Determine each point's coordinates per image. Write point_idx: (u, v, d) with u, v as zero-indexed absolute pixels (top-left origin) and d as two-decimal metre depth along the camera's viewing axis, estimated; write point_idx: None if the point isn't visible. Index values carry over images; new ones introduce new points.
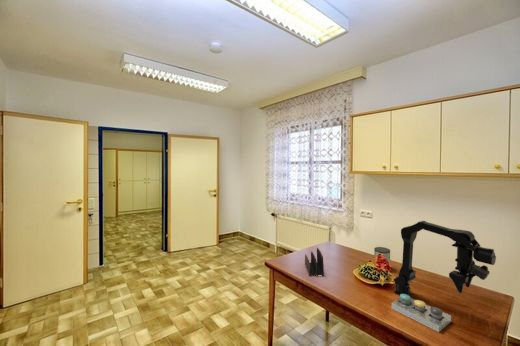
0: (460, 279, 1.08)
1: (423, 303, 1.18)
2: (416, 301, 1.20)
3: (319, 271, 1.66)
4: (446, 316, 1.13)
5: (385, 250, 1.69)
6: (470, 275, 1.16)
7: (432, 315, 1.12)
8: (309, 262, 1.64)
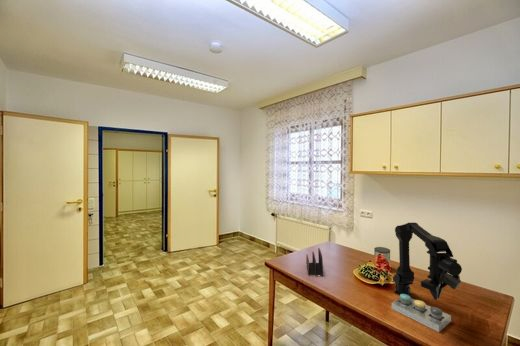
0: (431, 288, 1.06)
1: (423, 303, 1.18)
2: (416, 301, 1.20)
3: (319, 271, 1.65)
4: (446, 316, 1.13)
5: (385, 250, 1.69)
6: (440, 285, 1.12)
7: (432, 315, 1.12)
8: (308, 262, 1.64)
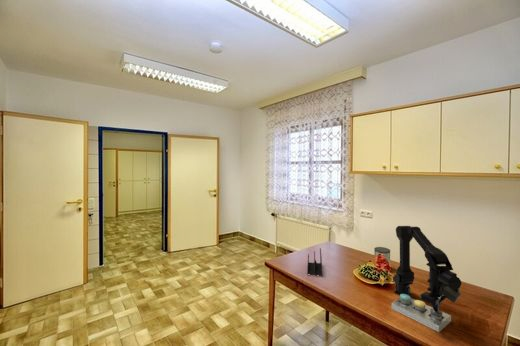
0: (430, 301, 1.06)
1: (423, 303, 1.18)
2: (416, 301, 1.20)
3: (319, 271, 1.65)
4: (446, 316, 1.13)
5: (385, 250, 1.69)
6: None
7: (432, 316, 1.12)
8: (308, 261, 1.65)
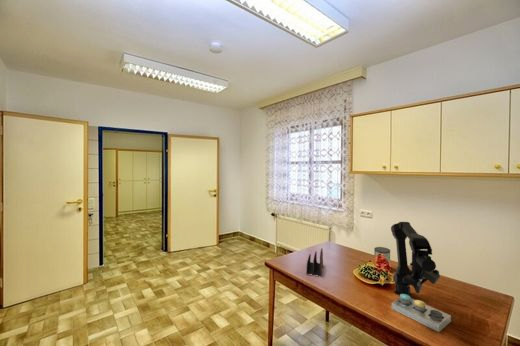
0: (412, 283, 1.13)
1: (423, 303, 1.18)
2: (416, 301, 1.20)
3: (318, 271, 1.65)
4: (446, 316, 1.13)
5: (385, 250, 1.69)
6: None
7: None
8: (307, 261, 1.65)
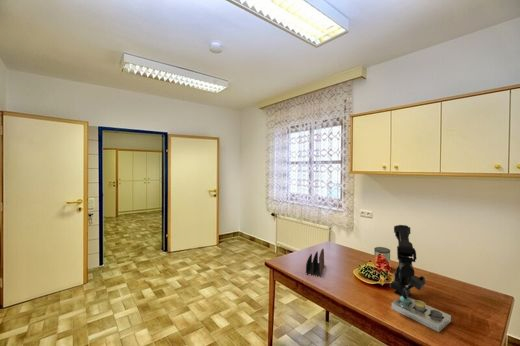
0: (398, 289, 1.18)
1: (423, 303, 1.18)
2: (416, 301, 1.20)
3: (318, 271, 1.65)
4: (446, 316, 1.13)
5: (385, 250, 1.69)
6: None
7: None
8: (307, 261, 1.66)
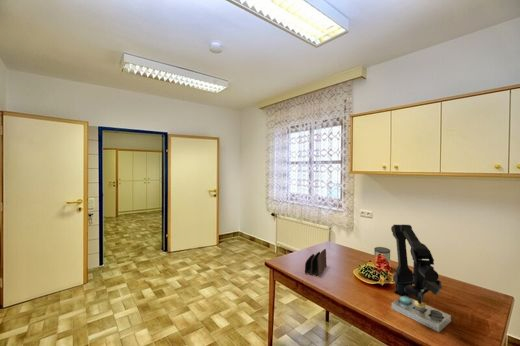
0: (413, 294, 1.12)
1: (423, 304, 1.18)
2: (416, 302, 1.20)
3: (318, 271, 1.65)
4: (446, 316, 1.13)
5: (385, 250, 1.69)
6: None
7: None
8: (307, 260, 1.67)
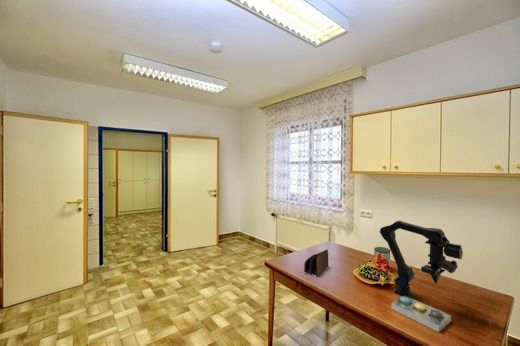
0: (430, 272, 1.19)
1: (423, 306, 1.18)
2: (416, 304, 1.20)
3: None
4: (446, 316, 1.13)
5: (385, 250, 1.69)
6: None
7: None
8: (306, 260, 1.68)
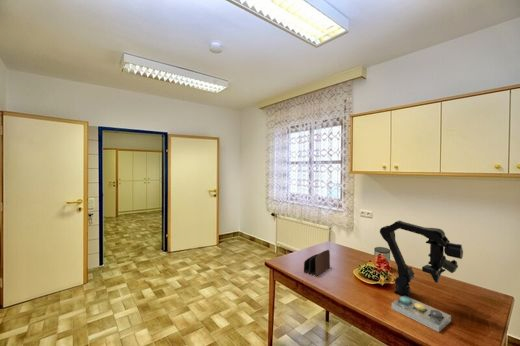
0: (431, 272, 1.19)
1: (423, 306, 1.18)
2: (416, 304, 1.20)
3: None
4: (446, 316, 1.13)
5: (385, 250, 1.69)
6: (439, 271, 1.25)
7: None
8: None
